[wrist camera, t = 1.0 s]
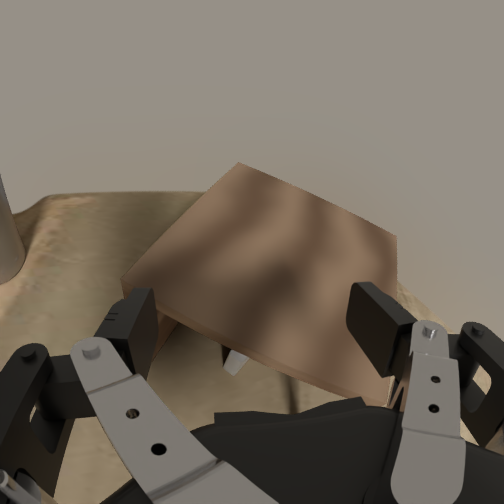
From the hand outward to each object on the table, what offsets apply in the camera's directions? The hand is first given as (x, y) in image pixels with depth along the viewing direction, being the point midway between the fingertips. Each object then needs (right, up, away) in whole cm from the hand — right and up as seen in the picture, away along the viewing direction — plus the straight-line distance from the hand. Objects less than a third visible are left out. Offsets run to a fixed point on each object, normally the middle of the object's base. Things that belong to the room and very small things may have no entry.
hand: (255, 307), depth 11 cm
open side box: (0, -9, +24) cm, 26 cm away
